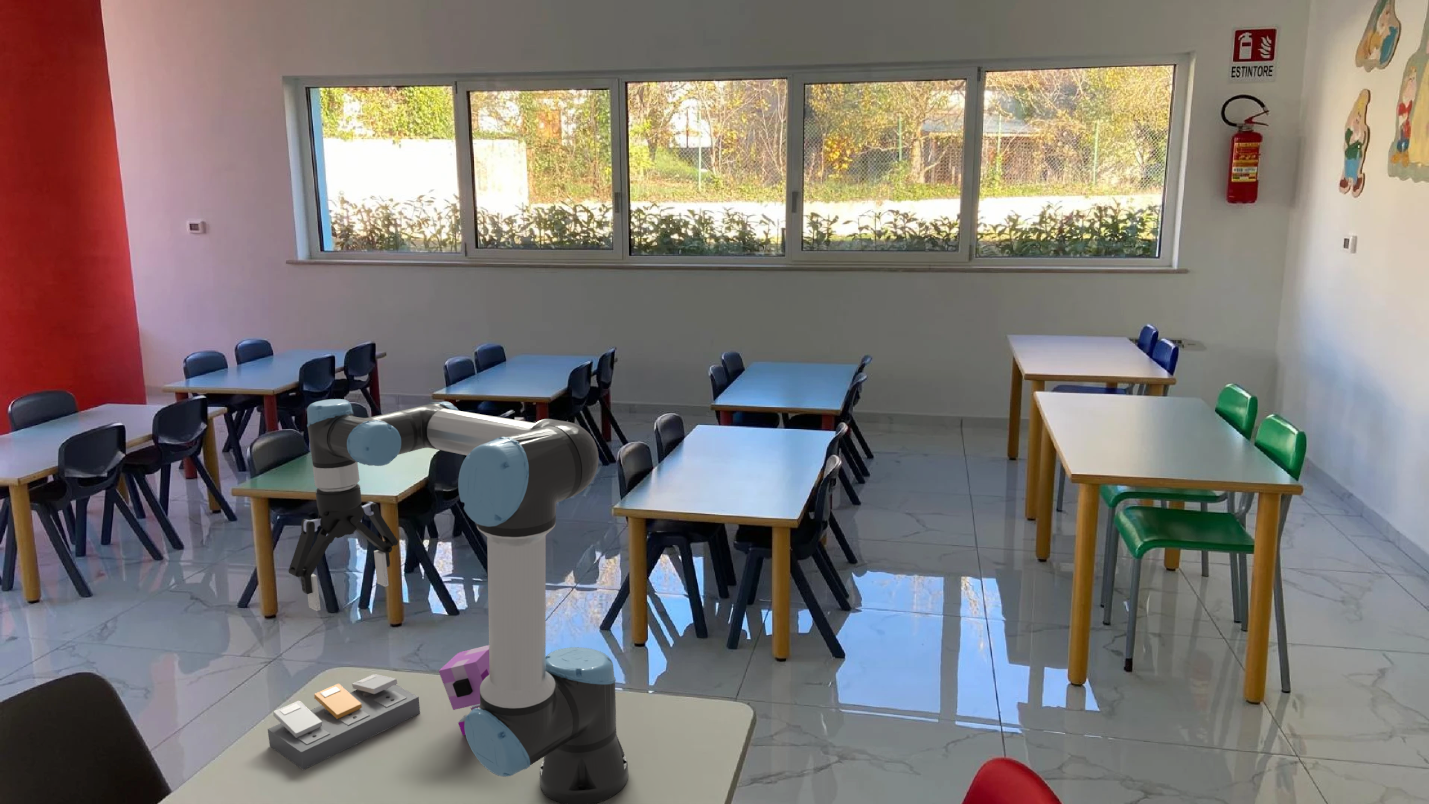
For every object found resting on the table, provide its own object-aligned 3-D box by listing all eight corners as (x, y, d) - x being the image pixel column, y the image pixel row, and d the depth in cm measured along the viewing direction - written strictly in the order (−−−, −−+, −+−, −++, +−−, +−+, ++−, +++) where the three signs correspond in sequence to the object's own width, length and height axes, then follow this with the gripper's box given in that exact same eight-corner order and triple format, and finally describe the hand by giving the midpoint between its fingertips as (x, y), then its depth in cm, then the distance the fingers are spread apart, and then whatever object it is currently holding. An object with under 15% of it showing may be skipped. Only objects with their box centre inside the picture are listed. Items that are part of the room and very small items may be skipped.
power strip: (420, 713, 191) (418, 693, 190) (303, 769, 173) (300, 748, 172) (385, 693, 198) (383, 674, 198) (269, 746, 180) (267, 725, 179)
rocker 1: (322, 726, 180) (322, 721, 179) (296, 737, 176) (296, 732, 176) (299, 704, 184) (299, 699, 184) (273, 715, 181) (273, 710, 180)
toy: (500, 739, 180) (472, 665, 178) (462, 747, 182) (435, 674, 180) (523, 711, 190) (497, 640, 188) (487, 719, 192) (461, 649, 190)
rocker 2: (361, 708, 186) (361, 703, 185) (337, 719, 182) (337, 714, 182) (338, 687, 190) (338, 682, 190) (314, 698, 187) (314, 693, 186)
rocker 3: (397, 683, 192) (396, 678, 192) (374, 694, 188) (373, 688, 188) (375, 678, 197) (374, 673, 197) (352, 688, 193) (351, 683, 193)
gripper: (388, 466, 188) (398, 570, 192) (259, 499, 169) (273, 613, 173) (410, 473, 183) (420, 579, 187) (280, 507, 164) (294, 625, 169)
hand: (349, 596), depth 180 cm, fingers open, 13 cm apart
